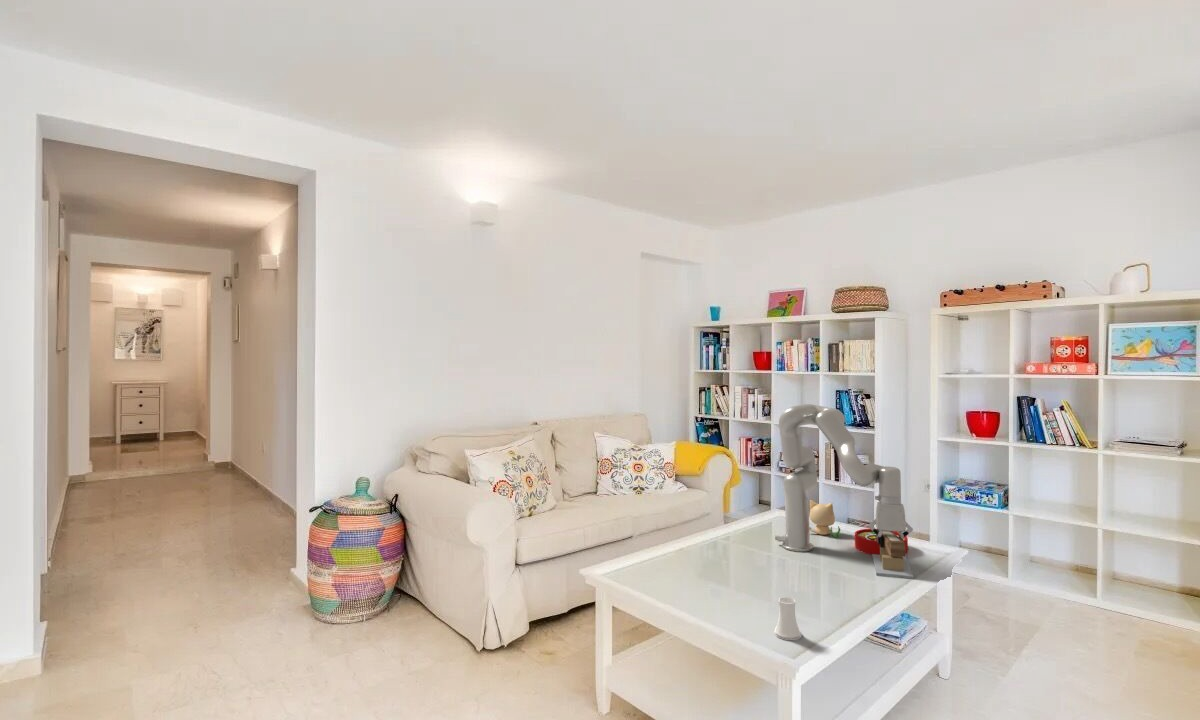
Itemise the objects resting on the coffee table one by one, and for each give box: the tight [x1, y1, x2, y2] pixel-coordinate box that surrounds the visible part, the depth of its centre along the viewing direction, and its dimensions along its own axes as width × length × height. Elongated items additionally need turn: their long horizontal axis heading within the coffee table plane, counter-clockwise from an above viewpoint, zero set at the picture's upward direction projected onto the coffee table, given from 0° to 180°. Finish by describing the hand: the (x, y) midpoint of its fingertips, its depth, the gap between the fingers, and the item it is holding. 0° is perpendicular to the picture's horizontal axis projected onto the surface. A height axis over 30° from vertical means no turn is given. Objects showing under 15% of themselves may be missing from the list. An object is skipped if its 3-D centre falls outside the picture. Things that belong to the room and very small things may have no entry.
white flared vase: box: [773, 596, 802, 641], centre depth 177 cm, size 8×8×10 cm
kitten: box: [809, 499, 841, 538], centre depth 275 cm, size 15×10×15 cm
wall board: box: [871, 547, 914, 580], centre depth 231 cm, size 12×22×6 cm, turn 159°
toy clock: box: [854, 528, 909, 556], centre depth 253 cm, size 20×6×20 cm
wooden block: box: [877, 531, 906, 557], centre depth 231 cm, size 16×5×5 cm, turn 172°
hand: (890, 547), depth 231 cm, fingers closed on wooden block, 5 cm apart
